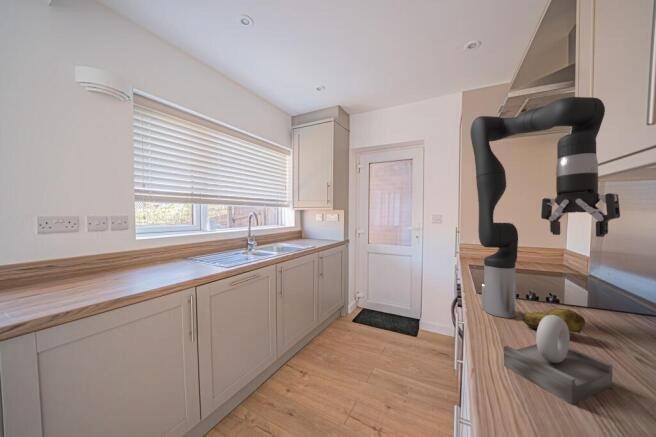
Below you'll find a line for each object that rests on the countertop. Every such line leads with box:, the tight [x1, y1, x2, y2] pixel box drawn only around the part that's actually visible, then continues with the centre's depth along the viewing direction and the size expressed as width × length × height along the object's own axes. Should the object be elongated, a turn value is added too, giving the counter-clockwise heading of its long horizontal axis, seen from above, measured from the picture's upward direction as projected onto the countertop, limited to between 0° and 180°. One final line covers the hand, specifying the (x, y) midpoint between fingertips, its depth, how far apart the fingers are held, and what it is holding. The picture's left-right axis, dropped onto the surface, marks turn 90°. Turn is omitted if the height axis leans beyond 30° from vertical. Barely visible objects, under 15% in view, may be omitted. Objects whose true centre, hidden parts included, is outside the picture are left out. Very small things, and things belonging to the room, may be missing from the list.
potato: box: [523, 308, 586, 334], centre depth 70 cm, size 8×13×8 cm, turn 27°
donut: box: [535, 315, 571, 363], centre depth 51 cm, size 10×4×10 cm, turn 119°
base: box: [503, 343, 613, 405], centre depth 51 cm, size 12×14×4 cm
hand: (576, 235), depth 61 cm, fingers open, 8 cm apart
